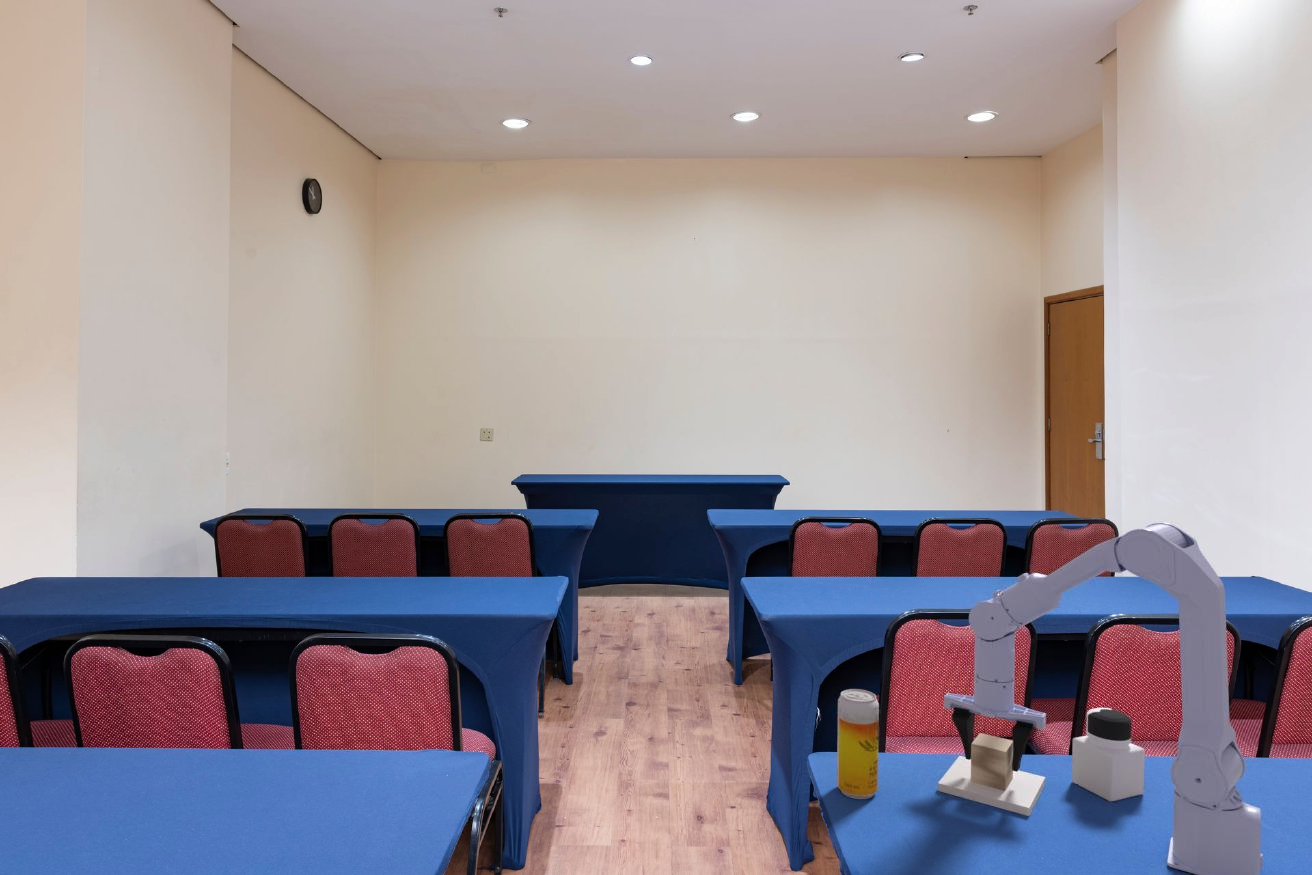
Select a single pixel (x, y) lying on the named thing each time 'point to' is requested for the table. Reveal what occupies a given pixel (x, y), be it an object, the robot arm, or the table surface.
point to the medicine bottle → (1108, 757)
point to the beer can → (857, 743)
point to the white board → (1014, 798)
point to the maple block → (991, 761)
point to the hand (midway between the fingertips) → (992, 762)
